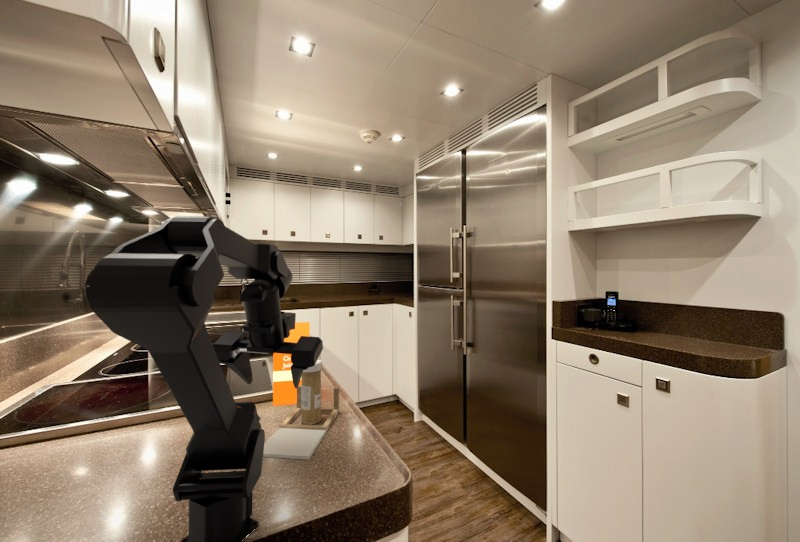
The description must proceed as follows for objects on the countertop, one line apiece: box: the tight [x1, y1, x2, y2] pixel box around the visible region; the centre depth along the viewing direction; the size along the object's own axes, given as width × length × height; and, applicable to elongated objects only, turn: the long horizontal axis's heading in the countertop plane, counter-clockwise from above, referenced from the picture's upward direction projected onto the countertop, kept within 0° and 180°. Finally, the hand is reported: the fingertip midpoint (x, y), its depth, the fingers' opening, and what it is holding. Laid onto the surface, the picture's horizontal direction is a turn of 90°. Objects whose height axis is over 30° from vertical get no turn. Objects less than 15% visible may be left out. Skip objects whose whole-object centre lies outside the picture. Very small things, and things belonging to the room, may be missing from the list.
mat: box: [263, 428, 328, 460], centre depth 63 cm, size 10×10×1 cm
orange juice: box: [272, 321, 311, 407], centre depth 86 cm, size 8×9×20 cm
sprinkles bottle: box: [300, 359, 323, 425], centre depth 73 cm, size 5×5×14 cm
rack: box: [278, 386, 340, 431], centre depth 73 cm, size 10×10×6 cm
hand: (273, 384), depth 63 cm, fingers open, 9 cm apart
